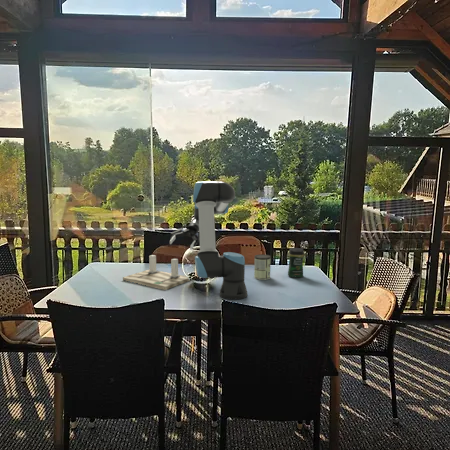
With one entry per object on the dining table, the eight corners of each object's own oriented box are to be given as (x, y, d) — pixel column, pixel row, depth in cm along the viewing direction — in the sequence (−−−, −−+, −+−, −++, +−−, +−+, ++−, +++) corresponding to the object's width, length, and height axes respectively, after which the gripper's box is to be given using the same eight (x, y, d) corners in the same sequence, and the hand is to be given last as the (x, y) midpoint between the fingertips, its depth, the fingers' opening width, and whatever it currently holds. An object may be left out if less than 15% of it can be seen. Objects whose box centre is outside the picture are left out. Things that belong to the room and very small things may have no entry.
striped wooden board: (165, 290, 227) (165, 286, 226) (122, 280, 245) (122, 277, 244) (191, 280, 247) (191, 276, 246) (150, 272, 265) (150, 269, 264)
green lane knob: (174, 278, 243) (174, 260, 241) (169, 277, 245) (169, 259, 243) (179, 276, 247) (179, 259, 245) (174, 275, 249) (174, 258, 247)
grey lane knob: (152, 273, 252) (152, 256, 250) (147, 272, 254) (147, 255, 253) (157, 272, 256) (157, 255, 255) (153, 271, 258) (152, 254, 257)
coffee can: (254, 275, 260) (254, 254, 258) (270, 275, 259) (270, 254, 257) (253, 279, 250) (254, 257, 248) (270, 280, 249) (270, 258, 247)
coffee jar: (289, 278, 254) (290, 249, 252) (287, 274, 262) (287, 247, 259) (304, 278, 255) (305, 249, 252) (301, 274, 262) (302, 247, 260)
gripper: (211, 237, 260) (199, 255, 243) (176, 228, 266) (162, 245, 249) (212, 227, 256) (199, 245, 239) (176, 218, 262) (161, 235, 245)
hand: (180, 245), depth 244 cm, fingers open, 13 cm apart
